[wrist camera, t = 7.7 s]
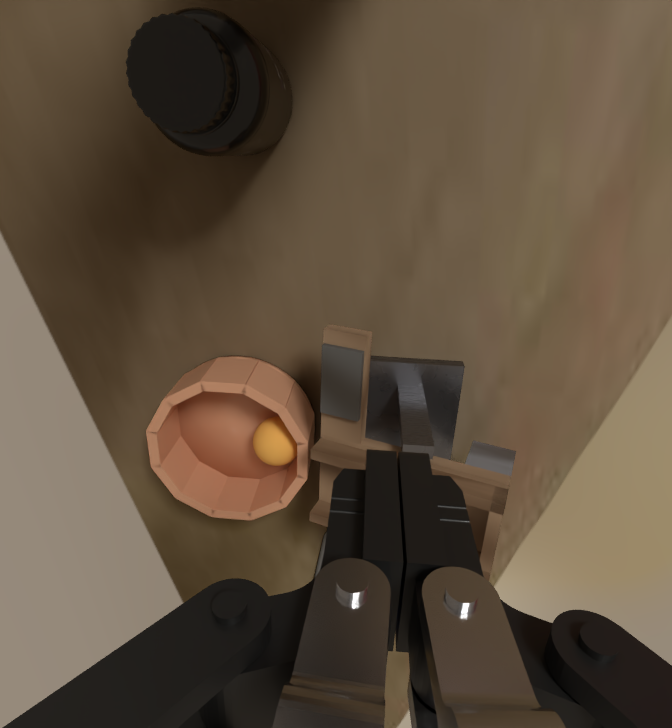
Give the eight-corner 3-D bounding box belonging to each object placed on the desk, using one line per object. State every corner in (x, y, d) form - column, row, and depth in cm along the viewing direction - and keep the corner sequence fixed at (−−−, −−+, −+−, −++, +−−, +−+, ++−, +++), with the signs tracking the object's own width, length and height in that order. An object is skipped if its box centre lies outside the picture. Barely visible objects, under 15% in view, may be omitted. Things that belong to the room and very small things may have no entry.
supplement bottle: (305, 58, 32) (268, 14, 21) (280, 167, 35) (236, 178, 24) (202, 25, 32) (111, -39, 21) (185, 137, 35) (96, 134, 24)
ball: (300, 407, 42) (253, 408, 42) (303, 432, 39) (250, 433, 38) (300, 447, 44) (254, 448, 43) (302, 474, 40) (252, 476, 40)
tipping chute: (352, 308, 37) (312, 336, 31) (540, 339, 32) (532, 378, 26) (344, 476, 43) (309, 524, 37) (500, 523, 38) (487, 586, 32)
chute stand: (362, 355, 40) (358, 413, 31) (462, 361, 40) (486, 422, 31) (353, 495, 46) (348, 578, 37) (441, 502, 45) (456, 587, 37)
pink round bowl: (165, 350, 41) (138, 377, 37) (316, 360, 41) (308, 388, 36) (179, 475, 46) (157, 512, 42) (313, 486, 46) (306, 524, 41)
